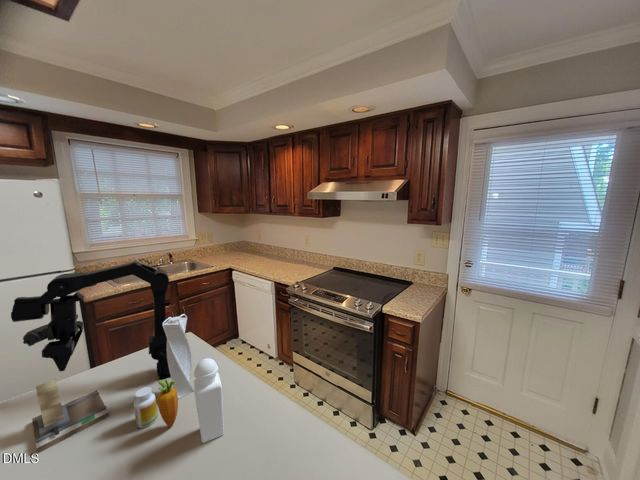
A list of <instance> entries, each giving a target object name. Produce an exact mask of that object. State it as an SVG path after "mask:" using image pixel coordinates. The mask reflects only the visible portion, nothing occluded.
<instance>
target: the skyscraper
mask: <svg viewBox="0 0 640 480" xmlns="http://www.w3.org/2000/svg"><path fill="white" fill-rule="evenodd" d="M183 316H185V317H183ZM187 321H188V316H187V315H186V313H183V314H181V315H179V316H173V317H172V316H169V317H168V318H166V320H165V321H164V322H163V324H162V325H163V328H164V331H165V334H166V337H167V361H168V367H169V371H170V375H171V377H170V379H171V381H172V380H174V383H173V385H172V388H174V389H175V390H176V391H177V397H178V400H179V399H181V398H182V397H185V396H187V395H188V394H190V393H193V392H195V388H194V386H192V385H191V381H190V376H191V370H192V351H191V344H190V342H189V339H188V336H187V335H186V328H187V323H188V322H187ZM165 322H166V323H165ZM164 323H165V324H164Z"/></svg>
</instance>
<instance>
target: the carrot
mask: <svg viewBox="0 0 640 480" xmlns="http://www.w3.org/2000/svg"><path fill="white" fill-rule="evenodd" d="M157 383H158V385H160V386H161V387H159V388H158V390H159V391H160V392H159V393H158V395H157V397H156V403H157V408H158V410H159V414H160V416H161V419H162V420H163V422H164V423H165V425H166V426H167V427H170V428H172V427H173V425H174V424H175V421H176V419H177V415H178V410H179V399H178V397H177V391H176V390H175V389H174V388H173V383H174V380H172V379H171V381H169V379H168V378H165V379H164V381H163V379H162V380H159V381H158V382H157Z"/></svg>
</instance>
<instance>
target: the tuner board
mask: <svg viewBox="0 0 640 480" xmlns="http://www.w3.org/2000/svg"><path fill="white" fill-rule="evenodd" d="M61 405H62V407H65V406H66V409H67V412H68V415H69V418H70V422H71V423H69V424H67V425H65V426H63V427H61V428H58V430H59V434H58V435H56V436H55V432H54V431H52V432H50V433H48V434H46V435H44V436H42V437H40V432H39V426H38V420H37V419H38V418H40V417H42V414H39V415H37V416H35V417H33V418H32V419H31V421H32V425H33V427H32V428H33V434H34V442H35V446H36V447H35V448H36V451H37V454H39V453H41V452H43V451H46V450H47V449H49V448H51V447H53V446H55V445H56V444H59V443H61V442H63V441H65V440H66V439H68V438H71V437H72V436H74V435H76V434H78V433H80V432H82V431H84V430H86V429H88V428H89V427H92V426H94V425H95V424H97V423H99V422H101V421H104V420H106V419H107V418H109V417H110V414H109V410H108V408H107V406H106V405H105V403H104V401H103V399H102V397H101V396H100V393H99V391H98V390H97V389H96V390H94V391H92V392H89V393H87V394H85V395H83V396H81V397H78V398H76V399H74V400H71V401H68V402H67V403H65V404H61Z"/></svg>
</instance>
